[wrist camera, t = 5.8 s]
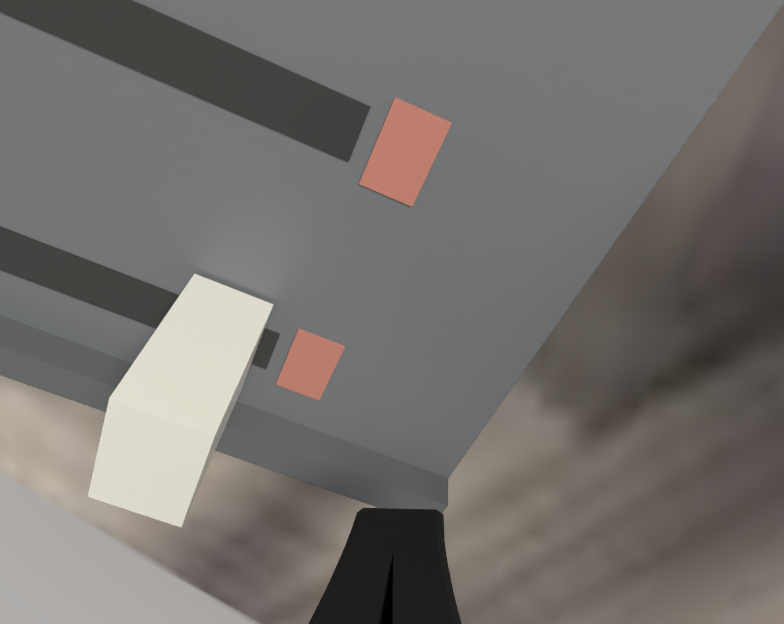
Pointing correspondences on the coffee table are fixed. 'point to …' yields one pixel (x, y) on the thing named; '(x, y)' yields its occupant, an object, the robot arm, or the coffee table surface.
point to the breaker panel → (337, 198)
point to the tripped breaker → (177, 401)
